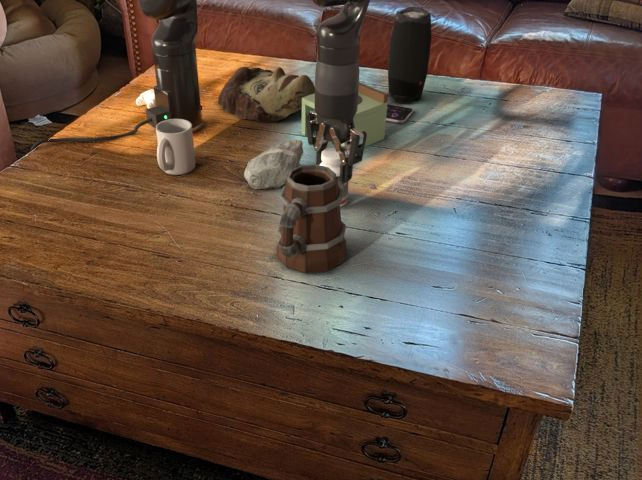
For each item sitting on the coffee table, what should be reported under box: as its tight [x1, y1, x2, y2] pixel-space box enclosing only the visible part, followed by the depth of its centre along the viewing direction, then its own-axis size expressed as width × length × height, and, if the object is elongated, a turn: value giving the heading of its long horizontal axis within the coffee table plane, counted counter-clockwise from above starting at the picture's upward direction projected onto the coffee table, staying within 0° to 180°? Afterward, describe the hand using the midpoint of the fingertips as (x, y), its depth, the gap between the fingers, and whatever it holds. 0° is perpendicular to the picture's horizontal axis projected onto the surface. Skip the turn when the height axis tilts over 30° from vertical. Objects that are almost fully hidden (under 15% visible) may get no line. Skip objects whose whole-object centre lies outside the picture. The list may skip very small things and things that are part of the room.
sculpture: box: [217, 66, 315, 123], centre depth 172 cm, size 21×10×25 cm
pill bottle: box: [320, 147, 349, 208], centre depth 136 cm, size 6×6×10 cm
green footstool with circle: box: [301, 81, 389, 152], centre depth 157 cm, size 12×14×10 cm
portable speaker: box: [387, 6, 433, 104], centre depth 170 cm, size 9×9×20 cm
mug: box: [276, 163, 347, 274], centre depth 119 cm, size 16×12×15 cm
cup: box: [155, 119, 196, 176], centre depth 148 cm, size 7×10×9 cm
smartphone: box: [386, 103, 414, 124], centre depth 170 cm, size 8×1×15 cm
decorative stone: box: [243, 139, 304, 190], centre depth 145 cm, size 13×10×6 cm
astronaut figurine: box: [135, 88, 156, 109], centre depth 177 cm, size 9×12×3 cm
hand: (333, 174), depth 136 cm, fingers closed on pill bottle, 5 cm apart
